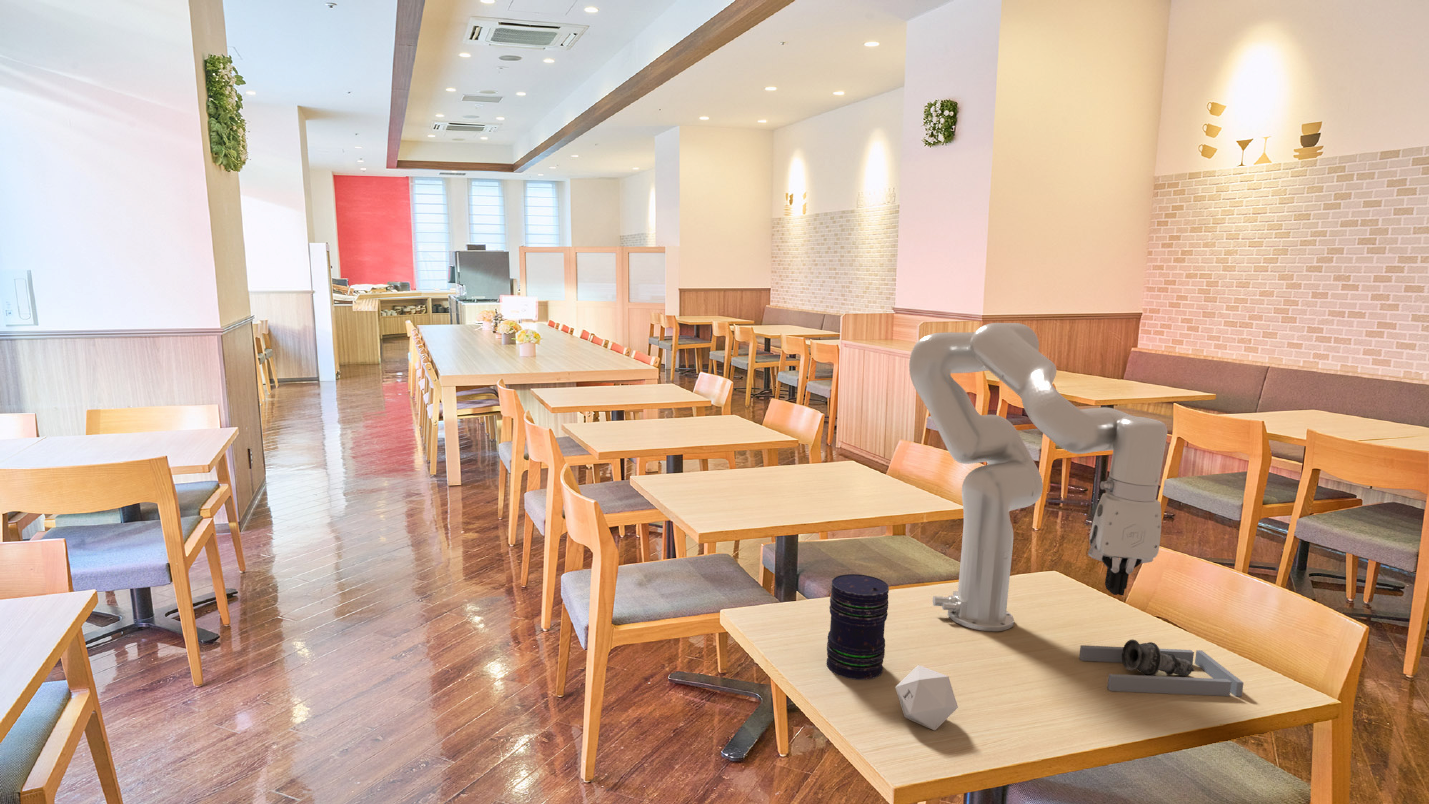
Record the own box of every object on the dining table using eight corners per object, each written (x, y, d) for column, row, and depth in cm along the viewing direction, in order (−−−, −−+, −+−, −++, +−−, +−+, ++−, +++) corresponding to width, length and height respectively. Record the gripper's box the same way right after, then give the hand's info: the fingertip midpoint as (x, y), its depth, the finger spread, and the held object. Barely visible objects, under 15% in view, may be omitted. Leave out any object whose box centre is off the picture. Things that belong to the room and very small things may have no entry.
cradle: (1110, 690, 137) (1111, 676, 137) (1079, 658, 149) (1080, 645, 149) (1241, 696, 137) (1243, 682, 137) (1200, 663, 149) (1201, 650, 149)
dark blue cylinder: (814, 665, 142) (819, 583, 140) (846, 648, 149) (851, 569, 147) (863, 686, 136) (869, 600, 133) (894, 667, 143) (900, 585, 140)
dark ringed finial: (1119, 670, 145) (1181, 685, 146) (1140, 673, 139) (1205, 689, 140) (1122, 637, 147) (1183, 652, 148) (1143, 638, 141) (1207, 654, 142)
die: (897, 705, 131) (881, 672, 126) (945, 680, 131) (931, 646, 126) (921, 748, 124) (905, 715, 119) (971, 722, 124) (958, 688, 119)
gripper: (1098, 493, 135) (1081, 598, 138) (1188, 499, 135) (1169, 604, 138) (1078, 481, 142) (1062, 580, 146) (1163, 486, 142) (1145, 585, 146)
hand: (1114, 591), depth 142 cm, fingers closed
